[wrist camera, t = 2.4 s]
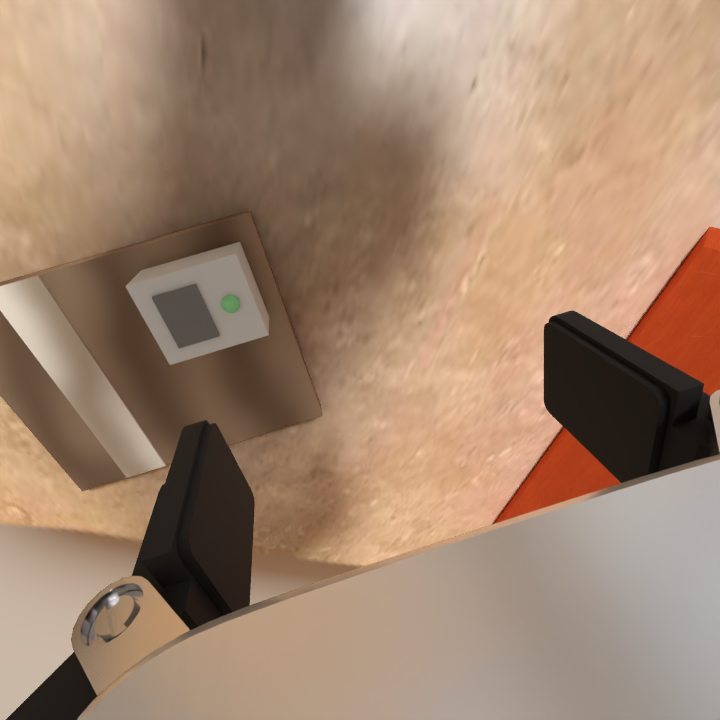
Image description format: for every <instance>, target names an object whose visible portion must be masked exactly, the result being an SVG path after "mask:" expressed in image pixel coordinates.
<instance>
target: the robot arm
mask: <svg viewBox="0 0 720 720" xmlns="http://www.w3.org/2000/svg"><path fill="white" fill-rule="evenodd" d="M703 387H704V383H702V382H700V381H699V380H697V379H695V378H693V377H691V376H690V375H688V374H686V373H684V372H683V371H681V370H679V369H677V368H675V367H674V366H672V365H670V364H668V363H666V362H665V361H663V360H661V359H659V358H658V357H656V356H654V355H652V354H650V353H649V352H647V351H645V350H643V349H641V348H640V347H638V346H636V345H634V344H633V343H631V342H629V341H627V340H625V339H624V338H622V337H620V336H618V335H616V334H615V333H613V332H611V331H609V330H608V329H606V328H604V327H602V326H600V325H599V324H597V323H595V322H593V321H591V320H590V319H588V318H586V317H584V316H583V315H581V314H579V313H577V312H575V311H568V312H565V313H562V314H558V315H555V316H552V317H551V318H550V319H549V323H547V324H545V326H544V403H545V406H546V409H547V410H548V412H549V413H550V414H551V415H552V416H553V417H554V418H555V419H556V420H557V421H558V422H559V423H560V424H561V425H562V426H563V427H564V428H565V429H567V430H568V431H569V432H570V433H571V434H572V435H573V436H574V437H575V438H576V439H577V440H578V441H579V442H580V443H581V444H582V445H583V446H584V447H585V448H586V449H587V450H588V451H589V452H590V453H591V454H592V455H593V456H594V457H595V458H596V459H597V460H598V461H599V462H600V463H601V464H602V465H603V466H604V467H605V468H606V469H607V470H608V471H609V472H610V473H611V474H613V475H614V476H615V477H616V478H617V479H618V480H619V481H620V482H621V483H620V484H617V485H614V486H611V487H608V488H604V489H601V490H598V491H595V492H592V493H589V494H586V495H582V496H579V497H576V498H573V499H570V500H567V501H564V502H560V503H557V504H554V505H551V506H548V507H545V508H542V509H539V510H535V511H532V512H529V513H526V514H523V515H520V516H517V517H514V518H511V519H508V520H505V521H502V522H498V523H495V524H492V525H489V526H486V527H483V528H480V529H477V530H474V531H471V532H468V533H465V534H462V535H458V536H455V537H452V538H449V539H446V540H443V541H440V542H437V543H434V544H431V545H428V546H425V547H422V548H419V549H416V550H413V551H410V552H406V553H403V554H400V555H397V556H394V557H391V558H388V559H385V560H382V561H379V562H376V563H373V564H370V565H367V566H364V567H361V568H358V569H355V570H352V571H350V572H346V573H343V574H340V575H337V576H334V577H331V578H328V579H325V580H322V581H319V582H316V583H313V584H310V585H307V586H305V587H302V588H299V589H296V590H293V591H290V592H287V593H284V594H282V595H279V596H276V597H273V598H270V599H268V600H264V601H262V602H259V603H256V604H253V605H250V606H249V604H250V603H249V602H250V583H251V564H252V544H253V524H254V497H253V494H252V491H251V489H250V487H249V485H248V483H247V481H246V479H245V477H244V475H243V474H242V472H241V470H240V468H239V466H238V464H237V462H236V460H235V458H234V456H233V454H232V452H231V450H230V449H229V447H228V445H227V443H226V441H225V439H224V437H223V435H222V433H221V431H220V429H219V427H218V426H217V424H216V423H212V424H210V423H209V422H208V421H206V420H204V421H200V422H197V423H194V424H190V425H187V426H184V427H183V429H182V432H181V435H180V438H179V441H178V444H177V448H176V451H175V454H174V457H173V460H172V464H171V467H170V470H169V473H168V476H167V479H166V483H165V484H164V485H162V487H161V489H160V491H159V494H158V497H157V500H156V503H155V506H154V509H153V512H152V515H151V518H150V521H149V524H148V527H147V531H146V534H145V537H144V540H143V543H142V546H141V549H140V552H139V555H138V558H137V561H136V564H135V568H134V571H133V574H132V576H129V577H125V578H122V579H120V580H118V581H116V582H114V583H112V584H110V585H109V586H107V587H106V588H105V589H103V590H102V591H100V592H99V593H98V594H97V595H96V596H95V597H94V598H93V599H92V600H91V601H90V602H89V603H88V604H87V606H86V607H85V609H84V610H83V611H82V613H81V614H80V616H79V617H78V619H77V622H76V624H75V626H74V628H73V633H72V638H71V641H72V646H73V650H74V653H73V654H72V655H71V656H70V657H69V658H68V659H67V660H66V661H64V663H63V664H62V665H61V666H59V667H58V668H57V669H56V670H55V671H54V672H53V673H52V675H51V676H49V677H48V678H47V679H46V680H45V681H44V682H43V683H42V684H41V685H40V686H39V687H38V688H37V689H36V690H35V691H34V692H33V693H32V694H31V695H30V696H29V697H28V698H27V699H26V700H25V701H24V702H23V703H22V704H21V705H20V706H19V707H18V708H17V709H16V710H15V711H14V712H13V713H12V714H11V715H10V716H9V717H8V718H7V719H6V720H720V390H717V391H715V392H714V393H713V394H712V395H711V396H709V395H708V394H706V393H704V392H703Z"/></svg>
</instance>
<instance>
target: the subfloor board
mask: <svg viewBox="0 0 720 720" xmlns="http://www.w3.org/2000/svg"><path fill="white" fill-rule="evenodd" d="M237 242H240V243H241V246H242V248H243V251H244V253H245V256H246V258H247V261H248V263H249V266H250V269H251V271H252V274H253V276H254V279H255V281H256V284H257V287H258V289H259V292H260V294H261V297H262V299H263V302H264V305H265V307H266V310H267V312H268V315H269V335H268V336H264V337H261V338H258V339H255V340H251V341H248V342H245V343H241V344H238V345H235V346H231V347H228V348H225V349H222V350H218V351H215V352H212V353H208V354H205V355H202V356H198V357H195V358H192V359H189V360H185V361H182V362H179V363H175V364H172V365H170V364H169V363H168V361H167V359H166V357H165V356H164V354H163V352H162V350H161V349H160V347H159V345H158V343H157V341H156V340H155V338H154V336H153V334H152V333H151V331H150V329H149V327H148V326H147V324H146V322H145V320H144V318H143V317H142V315H141V313H140V311H139V310H138V308H137V306H136V304H135V303H134V301H133V299H132V297H131V295H130V294H129V292H128V290H127V288H126V287H125V286H126V285H127V284H128V283H129V282H130V281H131V280H132V279H133V278H134V277H135V276H136V275H137V274H138V273H139V272H140V271H141V270H144V269H148V268H151V267H154V266H158V265H161V264H165V263H168V262H172V261H175V260H179V259H182V258H185V257H189V256H192V255H196V254H199V253H203V252H206V251H209V250H213V249H216V248H220V247H223V246H227V245H230V244H233V243H237ZM0 396H1V397H2V398H3V399H4V400H5V402H6V403H7V404H8V405H9V406H10V407H11V409H12V410H13V411H14V412H15V413H16V414H17V416H18V417H19V418H20V419H21V420H22V421H23V423H24V424H25V425H26V426H27V427H28V428H29V430H30V431H31V432H32V433H33V434H34V435H35V437H36V438H37V439H38V440H39V441H40V442H41V444H42V445H43V446H44V447H45V448H46V449H47V451H48V452H49V453H50V454H51V455H52V456H53V458H54V459H55V460H56V461H57V462H58V463H59V465H60V466H61V467H62V468H63V469H64V470H65V472H66V473H67V474H68V475H69V476H70V477H71V479H72V480H73V481H74V482H75V483H76V484H77V486H78V487H79V488H80V489H81V490H82V491H84V490H87V489H91V488H94V487H97V486H100V485H103V484H107V483H110V482H113V481H116V480H119V479H122V478H126V477H127V478H129V477H132V476H135V475H138V474H142V473H145V472H148V471H151V470H154V469H157V468H161V467H164V466H166V465H167V464H170V463H172V460H173V457H174V454H175V451H176V448H177V444H178V441H179V438H180V435H181V432H182V429H183V427H184V426H187V425H190V424H194V423H197V422H200V421H204V420H206V421H208V422H209V423H210V424H212V423H216V424H217V426H218V427H219V429H220V431H221V433H222V435H223V437H224V439H225V441H226V443H227V445H231V444H234V443H237V442H240V441H244V440H247V439H250V438H253V437H256V436H260V435H263V434H266V433H269V432H272V431H275V430H279V429H282V428H285V427H288V426H291V425H295V424H298V423H301V422H304V421H307V420H311V419H314V418H317V417H320V416H322V411H321V405H320V402H319V399H318V397H317V394H316V391H315V388H314V386H313V383H312V380H311V377H310V375H309V372H308V369H307V366H306V364H305V361H304V358H303V355H302V353H301V350H300V347H299V344H298V342H297V339H296V336H295V333H294V331H293V328H292V325H291V322H290V320H289V317H288V314H287V311H286V309H285V306H284V303H283V300H282V297H281V295H280V292H279V289H278V286H277V284H276V281H275V278H274V275H273V273H272V270H271V267H270V264H269V262H268V259H267V256H266V253H265V251H264V248H263V245H262V242H261V240H260V237H259V234H258V231H257V229H256V226H255V223H254V220H253V218H252V215H251V212H250V211H247V212H244V213H240V214H237V215H233V216H230V217H226V218H223V219H219V220H216V221H212V222H209V223H205V224H202V225H198V226H195V227H191V228H188V229H185V230H181V231H178V232H174V233H171V234H167V235H164V236H160V237H157V238H153V239H150V240H146V241H143V242H139V243H136V244H132V245H129V246H125V247H122V248H119V249H115V250H112V251H108V252H105V253H101V254H98V255H94V256H91V257H87V258H84V259H80V260H77V261H73V262H70V263H66V264H63V265H60V266H56V267H53V268H49V269H46V270H42V271H39V272H35V273H32V274H28V275H25V276H21V277H18V278H14V279H11V280H7V281H4V282H0Z"/></svg>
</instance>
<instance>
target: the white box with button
mask: <svg viewBox="0 0 720 720" xmlns="http://www.w3.org/2000/svg"><path fill="white" fill-rule="evenodd" d="M125 287H126V288H127V290H128V292H129V294H130V295H131V297H132V299H133V301H134V303H135V304H136V306H137V308H138V310H139V311H140V313H141V315H142V317H143V318H144V320H145V322H146V324H147V326H148V327H149V329H150V331H151V333H152V334H153V336H154V338H155V340H156V341H157V343H158V345H159V347H160V349H161V350H162V352H163V354H164V356H165V357H166V359H167V361H168V363H169V364H170V365H172V364H175V363H179V362H182V361H185V360H189V359H192V358H195V357H198V356H202V355H205V354H208V353H212V352H215V351H218V350H222V349H225V348H228V347H231V346H235V345H238V344H241V343H245V342H248V341H251V340H255V339H258V338H261V337H264V336H268V335H269V315H268V312H267V310H266V307H265V305H264V302H263V299H262V297H261V294H260V292H259V289H258V287H257V284H256V281H255V279H254V276H253V274H252V271H251V269H250V266H249V263H248V261H247V258H246V256H245V253H244V251H243V248H242V246H241V243H240V242H237V243H233V244H230V245H227V246H223V247H220V248H216V249H213V250H209V251H206V252H203V253H199V254H196V255H192V256H189V257H185V258H182V259H179V260H175V261H172V262H168V263H165V264H161V265H158V266H154V267H151V268H148V269H144V270H141V271H140V272H139V273H138V274H137V275H136V276H135V277H134V278H133V279H132V280H131V281H130V282H129V283H128V284H127V285H126V286H125Z"/></svg>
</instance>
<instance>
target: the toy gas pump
mask: <svg viewBox="0 0 720 720" xmlns="http://www.w3.org/2000/svg"><path fill="white" fill-rule="evenodd" d="M627 341H629V342H631V343H633V344H634V345H636V346H638V347H640V348H641V349H643V350H645V351H647V352H649V353H650V354H652V355H654V356H656V357H658V358H659V359H661V360H663V361H665V362H666V363H668V364H670V365H672V366H674V367H675V368H677V369H679V370H681V371H683V372H684V373H686V374H688V375H690V376H691V377H693V378H695V379H697V380H699V381H700V382H702V383H704V387H703V392H704V393H706V394H708V395H709V396H711V395H712V394H713V393H714V392H715V391H717V390H720V229H718V228H713V227H709V228H708V230H707V231H706V232H705V234H704V235H703V237H702V238H701V239H700V241H699V242H698V244H697V245H696V246H695V248H694V249H693V250H692V252H691V253H690V255H689V256H688V257H687V259H686V260H685V261H684V263H683V264H682V266H681V267H680V268H679V270H678V271H677V272H676V274H675V275H674V277H673V278H672V279H671V281H670V282H669V283H668V285H667V286H666V288H665V289H664V290H663V292H662V293H661V295H660V296H659V297H658V299H657V300H656V301H655V303H654V304H653V306H652V307H651V308H650V310H649V311H648V312H647V314H646V315H645V317H644V318H643V319H642V321H641V322H640V323H639V325H638V326H637V328H636V329H635V330H634V332H633V333H632V334H631V336H630V337H629V339H628V340H627ZM620 483H621V482H620V481H619V480H618V479H617V478H616V477H615V476H614V475H613V474H611V473H610V472H609V471H608V470H607V469H606V468H605V467H604V466H603V465H602V464H601V463H600V462H599V461H598V460H597V459H596V458H595V457H594V456H593V455H592V454H591V453H590V452H589V451H588V450H587V449H586V448H585V447H584V446H583V445H582V444H581V443H580V442H579V441H578V440H577V439H576V438H575V437H574V436H573V435H572V434H571V433H570V432H569V431H568V430H567V429H565V428H563V430H562V431H561V432H560V434H559V435H558V436H557V438H556V439H555V441H554V442H553V443H552V445H551V446H550V448H549V449H548V450H547V452H546V453H545V454H544V456H543V457H542V459H541V460H540V461H539V463H538V464H537V465H536V467H535V468H534V470H533V471H532V472H531V474H530V475H529V476H528V478H527V479H526V481H525V482H524V483H523V485H522V486H521V487H520V489H519V490H518V492H517V493H516V494H515V496H514V497H513V499H512V500H511V501H510V503H509V504H508V505H507V507H506V508H505V510H504V511H503V512H502V514H501V515H500V516H499V518H498V519H497V521H496V522H495V523H498V522H502V521H505V520H508V519H511V518H514V517H517V516H520V515H523V514H526V513H529V512H532V511H535V510H539V509H542V508H545V507H548V506H551V505H554V504H557V503H560V502H564V501H567V500H570V499H573V498H576V497H579V496H582V495H586V494H589V493H592V492H595V491H598V490H601V489H604V488H608V487H611V486H614V485H617V484H620ZM495 523H494V524H495Z"/></svg>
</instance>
